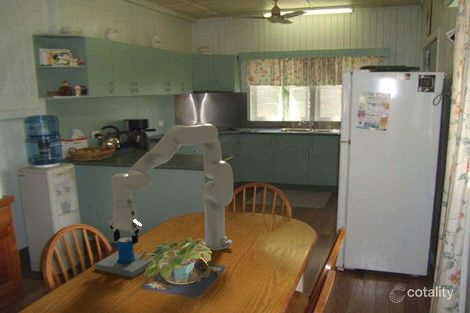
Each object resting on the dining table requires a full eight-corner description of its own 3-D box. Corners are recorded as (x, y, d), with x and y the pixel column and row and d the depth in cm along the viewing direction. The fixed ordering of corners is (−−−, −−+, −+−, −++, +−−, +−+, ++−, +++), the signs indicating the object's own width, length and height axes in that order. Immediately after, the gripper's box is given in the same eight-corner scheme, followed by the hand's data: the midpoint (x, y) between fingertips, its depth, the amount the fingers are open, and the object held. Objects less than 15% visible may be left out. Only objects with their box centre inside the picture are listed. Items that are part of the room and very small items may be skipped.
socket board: (156, 263, 184) (156, 257, 183) (132, 277, 170) (132, 271, 169) (120, 256, 192) (120, 250, 192) (95, 269, 178) (94, 263, 178)
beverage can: (130, 269, 177) (129, 242, 175) (116, 268, 179) (114, 241, 177) (137, 263, 184) (135, 237, 182) (123, 262, 185) (121, 236, 183)
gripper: (145, 202, 176) (148, 241, 179) (113, 199, 184) (116, 236, 187) (133, 207, 170) (136, 247, 173) (100, 203, 177) (104, 242, 180)
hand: (126, 241), depth 180 cm, fingers open, 9 cm apart
